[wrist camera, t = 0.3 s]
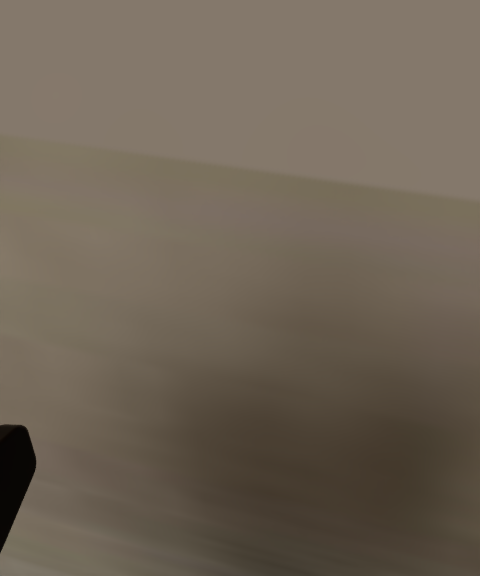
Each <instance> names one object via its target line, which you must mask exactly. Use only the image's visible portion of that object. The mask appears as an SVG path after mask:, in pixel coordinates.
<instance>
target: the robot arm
mask: <svg viewBox="0 0 480 576" xmlns="http://www.w3.org/2000/svg"><path fill="white" fill-rule="evenodd" d="M35 469H36V456H35V453H34V449H33V446H32V443H31V439H30V436H29V432H28V430H27V428H26V427H25V426H22V425H9V424H5V425H0V553H1V550H2V548H3V546H4V544H5V541H6V539H7V537H8V534H9V532H10V530H11V527H12V525H13V522H14V520H15V518H16V515H17V513H18V511H19V508H20V506H21V503H22V501H23V499H24V496H25V494H26V492H27V489H28V487H29V484H30V482H31V480H32V477H33V475H34V472H35Z"/></svg>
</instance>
